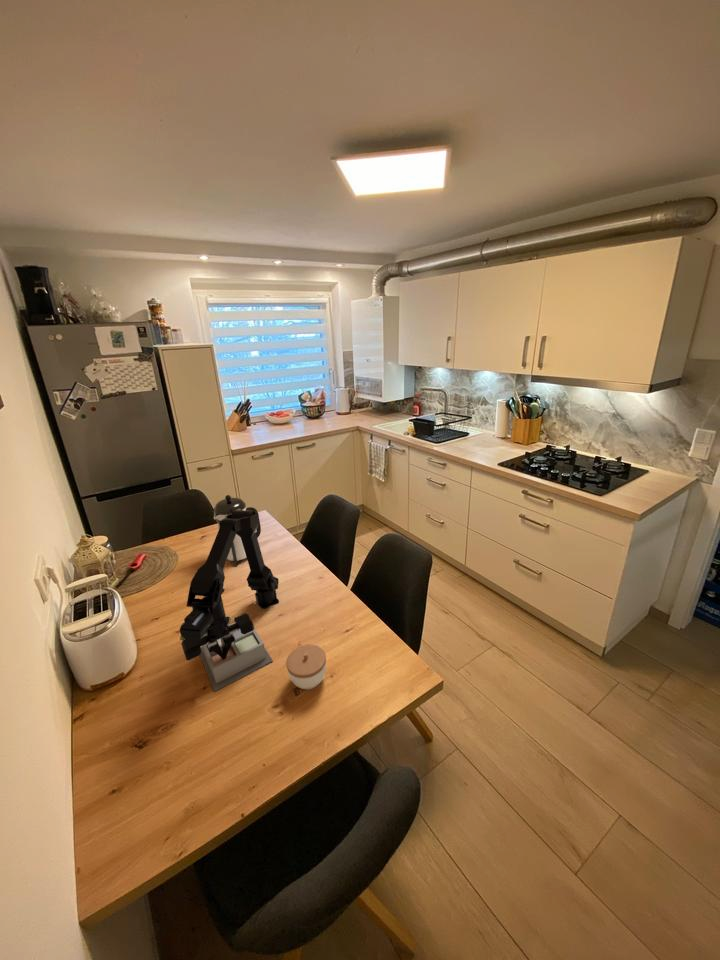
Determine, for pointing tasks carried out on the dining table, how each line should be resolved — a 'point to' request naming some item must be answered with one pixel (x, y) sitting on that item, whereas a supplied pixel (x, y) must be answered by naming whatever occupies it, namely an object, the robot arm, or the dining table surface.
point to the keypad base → (235, 662)
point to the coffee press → (237, 547)
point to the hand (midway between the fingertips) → (224, 658)
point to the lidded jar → (306, 666)
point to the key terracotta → (218, 659)
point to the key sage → (246, 643)
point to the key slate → (237, 633)
